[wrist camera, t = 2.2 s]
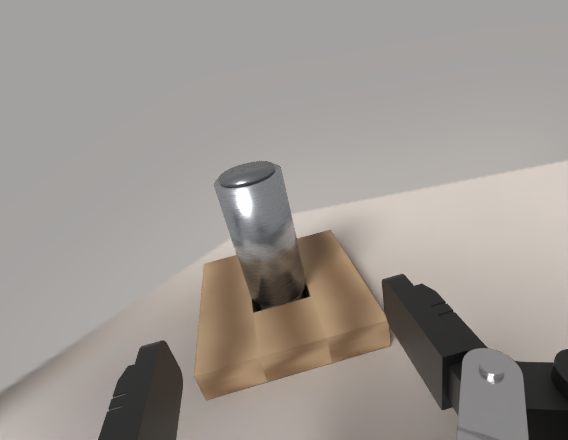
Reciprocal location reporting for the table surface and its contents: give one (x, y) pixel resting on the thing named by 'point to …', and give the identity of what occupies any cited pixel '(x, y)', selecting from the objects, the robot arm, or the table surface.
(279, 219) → the brushed metal cylinder
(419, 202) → the table surface
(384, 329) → the housing
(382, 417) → the table surface
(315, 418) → the table surface
